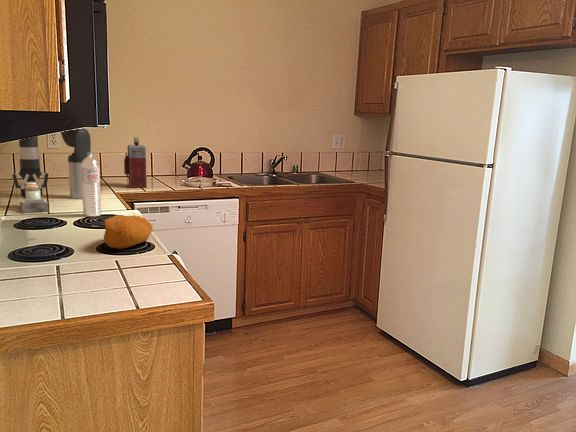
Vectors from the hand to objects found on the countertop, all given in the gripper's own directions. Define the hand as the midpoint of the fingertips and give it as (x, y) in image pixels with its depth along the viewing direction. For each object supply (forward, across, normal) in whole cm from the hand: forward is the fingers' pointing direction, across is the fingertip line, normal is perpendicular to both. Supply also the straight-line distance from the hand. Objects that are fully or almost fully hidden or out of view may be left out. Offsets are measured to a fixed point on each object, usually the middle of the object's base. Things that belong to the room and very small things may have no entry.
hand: (31, 197), depth 212 cm
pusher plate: (+4, 0, +10) cm, 11 cm away
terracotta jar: (+3, 0, 0) cm, 3 cm away
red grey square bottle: (+4, -55, -47) cm, 72 cm away
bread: (+5, -23, +79) cm, 82 cm away
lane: (+4, 0, +4) cm, 6 cm away
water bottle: (+4, -20, +28) cm, 35 cm away
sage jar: (+4, 0, +6) cm, 8 cm away
